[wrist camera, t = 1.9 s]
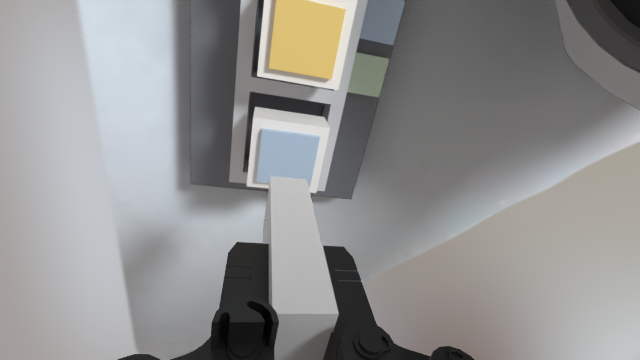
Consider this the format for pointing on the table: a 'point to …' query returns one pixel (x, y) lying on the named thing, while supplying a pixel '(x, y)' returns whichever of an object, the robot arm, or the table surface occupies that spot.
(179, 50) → the table surface
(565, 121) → the table surface
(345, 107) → the keypad
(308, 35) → the key ochre
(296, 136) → the key blue
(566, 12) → the alarm clock
